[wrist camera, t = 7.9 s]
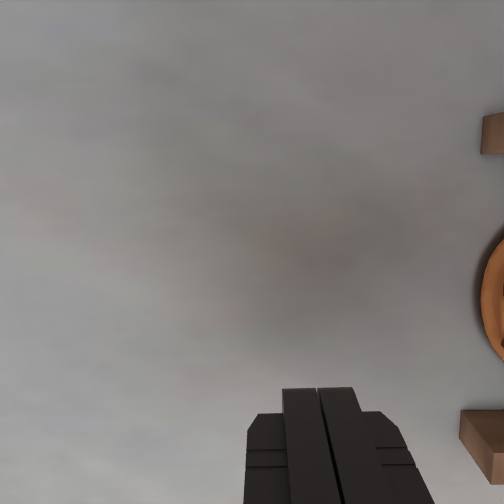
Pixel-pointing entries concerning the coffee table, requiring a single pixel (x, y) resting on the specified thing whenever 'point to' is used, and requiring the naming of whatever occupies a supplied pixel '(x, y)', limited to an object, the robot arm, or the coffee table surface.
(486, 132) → the walnut pocket
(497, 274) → the donut
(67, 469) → the coffee table surface
